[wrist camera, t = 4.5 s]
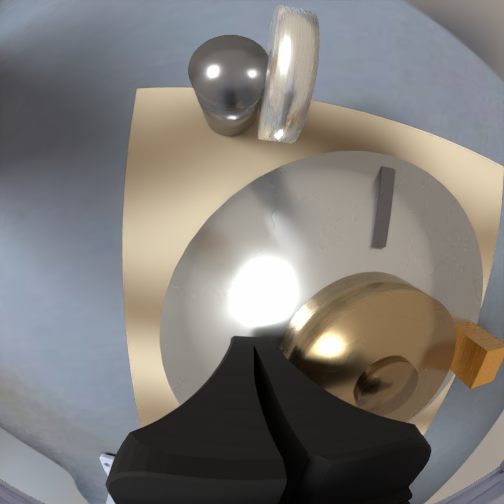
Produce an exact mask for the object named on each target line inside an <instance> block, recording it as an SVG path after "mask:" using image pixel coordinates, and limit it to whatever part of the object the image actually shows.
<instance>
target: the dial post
mask: <svg viewBox="0 0 504 504" xmlns="http://www.w3.org/2000/svg"><path fill="white" fill-rule="evenodd" d="M319 45H320V34H319V23H318V19H317V16H316V14H315V12H313V11H310V10H305V9H300V8H294V7H289V6H283V5H277V6H276V7H275V10H274V13H273V16H272V20H271V24H270V29H269V34H268V39H267V45H266V50H264V49H263V48H262V47H261V46H260V45H259V44H258V43H256V42H255V41H253V40H251V39H249V38H246V37H243V36H238V35H224V36H219V37H215V38H213V39H210V40H208V41H206V42H205V43H203V44H202V45H201V46H200V47H199V48H198V49H197V50H196V51H195V52H194V54H193V55H192V57H191V59H190V62H189V67H188V74H189V79H190V81H191V84H192V86H193V89H194V91H195V94H196V97H197V99H198V102H199V104H200V107H201V109H202V112H203V115H204V117H205V120H206V122H207V124H208V126H209V127H210V128H211V129H212V130H213V131H214V132H216V133H217V134H220V135H223V136H237V135H240V134H242V133H244V132H246V131H247V130H248V129H249V128H250V127H251V126H252V124H253V122H254V120H255V117H256V114H257V111H258V122H257V136H258V139H260V140H268V141H276V142H284V143H291V144H292V143H294V142H295V141H296V140H297V138H298V137H299V135H300V133H301V131H302V128H303V126H304V123H305V121H306V118H307V114H308V111H309V108H310V104H311V100H312V96H313V91H314V86H315V81H316V75H317V68H318V59H319Z"/></svg>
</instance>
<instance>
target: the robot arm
mask: <svg viewBox="0 0 504 504" xmlns="http://www.w3.org/2000/svg"><path fill="white" fill-rule="evenodd" d="M430 454H431V447H430V445H429V444H428V442H427V441H426V439H425V438H424V436H423V435H422V434H421V432H420V431H419V429H418V428H417V427H416V425H415V424H411V423H406V422H402V421H398V420H394V419H390V418H386V417H382V416H379V415H377V414H374V413H371V412H368V411H365V410H363V409H361V408H358V407H356V406H354V405H352V404H350V403H348V402H346V401H344V400H342V399H340V398H338V397H336V396H334V395H333V394H331V393H329V392H328V391H326V390H325V389H323V388H322V387H320V386H319V385H317V384H316V383H314V382H313V381H312V380H310V379H309V378H308V377H307V376H306V375H304V374H303V373H302V372H301V371H300V370H298V369H297V368H296V367H295V366H294V365H293V364H292V363H291V362H290V361H289V360H288V359H287V358H286V357H285V356H284V355H283V354H282V353H281V352H280V351H279V350H278V348H277V347H276V346H275V345H274V344H273V343H272V342H271V341H270V340H269V338H268V337H247V336H233V337H232V338H231V341H230V345H229V347H228V350H227V352H226V354H225V355H224V357H223V359H222V361H221V362H220V364H219V365H218V367H217V368H216V370H215V371H214V372H213V374H212V375H211V376H210V378H209V379H208V380H207V381H206V382H205V383H204V384H203V385H202V387H201V388H200V389H199V390H198V391H197V392H196V393H194V394H193V395H192V396H191V397H190V398H189V399H188V400H186V401H185V402H184V403H183V404H181V405H180V406H179V407H177V408H176V409H174V410H173V411H171V412H170V413H168V414H167V415H165V416H163V417H162V418H160V419H159V420H157V421H155V422H153V423H151V424H149V425H146V426H144V427H142V428H140V429H137V430H135V431H132V432H130V433H129V434H128V436H127V437H126V439H125V440H124V442H123V443H122V445H121V447H120V449H119V450H118V452H117V454H116V456H115V457H114V456H110V455H106V454H101V456H100V461H101V463H102V465H103V467H104V469H105V471H106V473H107V476H108V478H107V481H106V487H107V490H108V492H109V495H108V498H107V501H106V504H410V503H409V501H408V500H410V499H411V498H412V493H411V491H410V489H409V485H410V484H411V483H412V482H413V481H414V480H415V478H416V477H417V476H418V475H419V473H420V472H421V471H422V470H423V468H424V467H425V465H426V464H427V462H428V460H429V458H430ZM0 504H45V503H42V502H41V501H39V500H37V499H34V498H33V497H31V496H29V495H27V494H25V493H23V492H21V491H19V490H18V489H16V488H14V487H13V486H11V485H9V484H7V483H6V482H4V481H3V480H1V479H0ZM435 504H504V460H503V462H502V463H501V464H500V466H499V467H498V468H496V469H495V470H493V471H492V472H490V473H489V474H487V475H486V476H484V477H483V478H481V479H479V480H478V481H476V482H475V483H473V484H471V485H470V486H468V487H466V488H464V489H462V490H461V491H459V492H457V493H455V494H453V495H451V496H449V497H448V498H446V499H444V500H441V501H440V502H437V503H435Z"/></svg>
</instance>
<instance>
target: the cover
mask: <svg viewBox="0 0 504 504" xmlns="http://www.w3.org/2000/svg"><path fill="white" fill-rule="evenodd" d="M455 346H456V331H455V325H454V322H453V319H452V317H451V315H450V313H449V311H448V310H447V309H446V308H445V306H444V305H443V304H442V303H440V302H439V301H438V300H436V299H435V298H433V297H431V296H430V295H428V294H426V293H425V292H423V291H422V290H420V289H418V288H417V287H415V286H413V285H412V284H410V283H408V282H406V281H405V280H403V279H401V278H399V277H397V276H395V275H392V274H389V273H385V272H362V273H357V274H353V275H350V276H347V277H344V278H341V279H339V280H337V281H335V282H333V283H331V284H329V285H328V286H326V287H324V288H323V289H321V290H320V291H319V292H318V293H316V294H315V295H314V296H312V297H311V298H310V299H309V300H308V301H307V302H306V303H305V304H304V305H303V306H302V307H301V308H300V310H299V311H298V312H297V313H296V315H295V316H294V318H293V319H292V320H291V322H290V323H289V325H288V327H287V329H286V331H285V333H284V336H283V339H282V342H281V345H280V350H279V351H280V352H281V353H282V354H283V355H284V356H285V357H286V358H287V359H288V360H289V361H290V362H291V363H292V364H293V365H294V366H295V367H296V368H297V369H298V370H300V371H301V372H302V373H303V374H304V375H306V376H307V377H308V378H309V379H310V380H312V381H313V382H314V383H316V384H317V385H319V386H320V387H322V388H323V389H325V390H326V391H328V392H329V393H331V394H333V395H334V396H336V397H338V398H340V399H342V400H344V401H346V402H348V403H350V404H352V405H354V406H356V407H358V408H361V409H363V410H365V411H368V412H371V413H374V414H377V415H379V416H382V417H386V418H390V419H394V420H398V421H402V422H408V421H409V420H410V419H412V418H413V417H414V416H415V415H416V414H417V413H419V412H420V411H421V410H422V409H423V408H424V407H425V406H426V405H427V404H428V402H429V401H430V400H431V399H432V398H433V396H434V395H435V394H436V392H437V391H438V389H439V388H440V386H441V385H442V383H443V381H444V380H445V378H446V376H447V374H448V371H449V369H450V366H451V364H452V361H453V357H454V353H455Z"/></svg>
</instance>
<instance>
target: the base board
mask: <svg viewBox="0 0 504 504" xmlns="http://www.w3.org/2000/svg"><path fill="white" fill-rule="evenodd" d="M257 122H258V111H257V114H256V117H255V120H254V122H253V124H252V126H251V127H250V128H249V129H248V130H247V131H246V132H244V133H242V134H240V135H237V136H223V135H220V134H217V133H216V132H214V131H213V130H212V129H211V128H210V127H209V126H208V124H207V122H206V120H205V117H204V115H203V112H202V109H201V107H200V104H199V102H198V99H197V97H196V94H195V91H194V89H193V88H139V89H137V93H136V98H135V104H134V110H133V116H132V123H131V130H130V138H129V146H128V155H127V165H126V176H125V190H124V207H123V291H124V309H125V322H126V333H127V343H128V352H129V361H130V368H131V375H132V382H133V388H134V394H135V400H136V406H137V411H138V416H139V421H140V426H141V428H142V427H144V426H146V425H149V424H151V423H153V422H155V421H157V420H159V419H160V418H162V417H163V416H165V415H167V414H168V413H170V412H171V411H173V410H174V409H176V408H177V407H179V406H180V404H179V403H178V401H177V399H176V398H175V396H174V394H173V392H172V390H171V388H170V385H169V383H168V380H167V377H166V374H165V371H164V367H163V364H162V357H161V350H160V318H161V313H162V308H163V303H164V298H165V293H166V291H167V288H168V285H169V282H170V280H171V277H172V274H173V272H174V269H175V267H176V265H177V264H178V262H179V260H180V258H181V256H182V255H183V253H184V251H185V249H186V247H187V246H188V244H189V242H190V241H191V240H192V238H193V237H194V236H195V235H196V233H197V232H198V231H199V229H200V228H201V227H202V226H203V224H204V223H205V222H206V220H207V219H208V218H209V217H210V215H211V214H212V213H214V212H215V211H216V210H217V209H218V208H219V207H220V206H221V205H222V204H223V203H224V202H225V201H226V200H227V199H228V198H229V197H230V196H232V195H233V194H234V193H236V192H237V191H238V190H240V189H241V188H243V187H244V186H245V185H247V184H248V183H250V182H251V181H253V180H254V179H256V178H258V177H260V176H262V175H264V174H266V173H268V172H270V171H272V170H274V169H276V168H277V167H280V166H282V165H285V164H288V163H291V162H293V161H296V160H299V159H302V158H305V157H309V156H312V155H318V154H324V153H330V152H336V151H368V152H374V153H380V154H386V155H390V156H393V157H396V158H399V159H402V160H405V161H407V162H410V163H412V164H414V165H416V166H417V167H419V168H421V169H423V170H424V171H426V172H428V173H429V174H431V175H432V176H433V177H434V178H436V179H437V180H438V181H439V182H441V183H442V184H443V185H444V186H445V187H446V188H447V189H448V190H449V191H450V192H451V194H452V195H453V196H454V197H455V198H456V199H457V201H458V202H459V204H460V205H461V207H462V208H463V210H464V211H465V213H466V215H467V216H468V218H469V221H470V223H471V225H472V227H473V230H474V232H475V235H476V238H477V242H478V245H479V249H480V254H481V260H482V267H483V294H482V303H483V299H484V296H485V292H486V288H487V284H488V280H489V276H490V272H491V267H492V263H493V258H494V253H495V247H496V242H497V235H498V229H499V221H500V213H501V203H502V191H503V171H504V167H503V166H501V165H499V164H497V163H495V162H494V161H492V160H490V159H488V158H486V157H484V156H481V155H479V154H477V153H475V152H473V151H471V150H469V149H466V148H464V147H462V146H460V145H457V144H455V143H453V142H450V141H448V140H445V139H443V138H440V137H438V136H435V135H433V134H430V133H427V132H425V131H422V130H419V129H416V128H413V127H411V126H408V125H405V124H402V123H398V122H395V121H392V120H389V119H386V118H382V117H379V116H375V115H372V114H368V113H364V112H361V111H357V110H353V109H349V108H344V107H340V106H336V105H331V104H327V103H322V102H317V101H311V104H310V108H309V111H308V114H307V118H306V121H305V123H304V126H303V128H302V131H301V133H300V135H299V137H298V138H297V140H296V141H295V142H294V143H292V144H291V143H284V142H276V141H268V140H260V139H258V136H257ZM481 306H482V304H481ZM454 377H455V374H454V376H453V377H452V379H451V380H450V382H449V383H448V384H447V386H446V387H445V388H444V389H443V391H442V392H441V393H440V394H439V395H438V397H437V398H436V399H435V400H434V401H433V402H432V403H431V404H430V405H429V406H428V407H427V408H426V409H425V410H424V411H423V412H422V413H421V414H420V415H418V416H417V417H416V418H415V419H414V420H412V421H411V422H410V423H411V424H415V425H416V427H417V428H418V429H419V431H420V432H421V434H422V435H424V433H425V432H426V430H427V429H428V427H429V425H430V423H431V422H432V420H433V418H434V417H435V415H436V413H437V411H438V409H439V407H440V406H441V404H442V402H443V400H444V398H445V396H446V394H447V392H448V390H449V388H450V386H451V384H452V382H453V380H454Z"/></svg>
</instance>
